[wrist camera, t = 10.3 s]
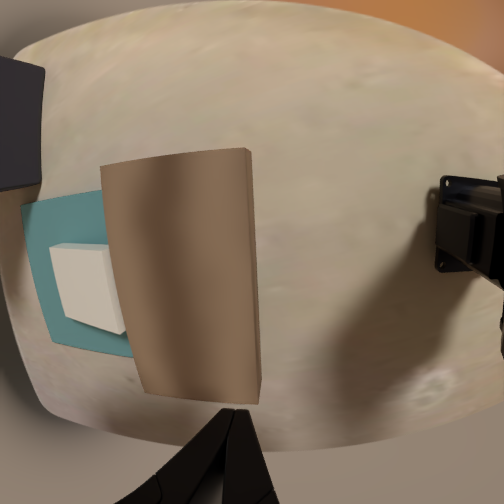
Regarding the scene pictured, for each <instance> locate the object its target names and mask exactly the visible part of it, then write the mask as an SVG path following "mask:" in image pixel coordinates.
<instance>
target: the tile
mask: <svg viewBox="0 0 504 504" xmlns="http://www.w3.org/2000/svg"><path fill="white" fill-rule="evenodd" d="M49 250H50V255H51V260H52V265H53V270H54V274H55V279H56V283H57V287H58V291H59V295H60V299H61V302H62V306H63V309H64V313H65V316H66V317H69V318H72V319H74V320H77V321H80V322H83V323H86V324H89V325H91V326H94V327H97V328H101V329H104V330H107V331H110V332H113V333H116V334H121V333H123V332H124V331H126V328H125V325H124V321H123V316H122V312H121V308H120V304H119V299H118V294H117V290H116V285H115V280H114V275H113V269H112V264H111V258H110V252H109V245H104V244H78V243H61V244H58V245H55V246H52V247H49Z"/></svg>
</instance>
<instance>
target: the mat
mask: <svg viewBox="0 0 504 504" xmlns="http://www.w3.org/2000/svg"><path fill="white" fill-rule="evenodd" d="M21 214H22V222H23V228H24V235H25V241H26V246H27V252H28V257H29V262H30V266H31V271H32V275H33V279H34V283H35V287H36V291H37V295H38V298H39V302H40V305H41V309H42V312H43V315H44V318H45V321H46V324H47V327H48V330H49V333H50V336H51V339H52V342H55V343H60V344H64V345H68V346H73V347H77V348H82V349H87V350H92V351H97V352H103V353H108V354H114V355H120V356H126V357H133V354H132V350H131V347H130V343H129V340H128V336H127V332H126V331H124V332H123V333H121V334H116V333H113V332H110V331H107V330H104V329H101V328H97V327H94V326H91V325H89V324H86V323H83V322H80V321H77V320H74V319H72V318H69V317H66V316H65V313H64V309H63V306H62V302H61V299H60V295H59V291H58V287H57V283H56V279H55V274H54V270H53V265H52V260H51V255H50V250H49V247H52V246H55V245H58V244H61V243H78V244H104V245H108V239H107V232H106V224H105V216H104V207H103V197H102V190H99V191H92V192H86V193H80V194H75V195H69V196H63V197H58V198H53V199H48V200H43V201H38V202H33V203H29V204H24V205H21ZM133 358H134V357H133Z"/></svg>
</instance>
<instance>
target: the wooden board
mask: <svg viewBox="0 0 504 504" xmlns="http://www.w3.org/2000/svg"><path fill="white" fill-rule="evenodd" d="M100 171H101V185H102V197H103V207H104V216H105V224H106V232H107V239H108V245H109V252H110V258H111V264H112V269H113V275H114V280H115V285H116V290H117V294H118V299H119V304H120V308H121V312H122V316H123V321H124V325H125V328H126V332H127V336H128V340H129V343H130V347H131V350H132V354H133V357H134V361H135V364H136V367H137V370H138V374H139V377H140V380H141V383H142V386H143V389H144V392H145V393H150V394H156V395H162V396H168V397H175V398H183V399H191V400H200V401H210V402H222V403H236V404H257V405H258V403H259V395H260V388H261V380H262V376H261V352H260V329H259V306H258V284H257V262H256V241H255V219H254V199H253V178H252V158H251V151H249V150H248V149H246V148H231V149H218V150H207V151H197V152H188V153H180V154H172V155H164V156H157V157H151V158H144V159H138V160H132V161H126V162H120V163H115V164H110V165H104V166H100Z"/></svg>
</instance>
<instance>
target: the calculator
mask: <svg viewBox="0 0 504 504" xmlns="http://www.w3.org/2000/svg"><path fill="white" fill-rule="evenodd" d="M44 78H45V69H44V68H43V67H40V66H36V65H33V64H29V63H26V62H22V61H18V60H14V59H10V58H6V57H2V56H0V192H3V191H8V190H14V189H20V188H24V187H28V186H32V185H35V184H39V183H40V182H41V111H42V97H43V87H44Z"/></svg>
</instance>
